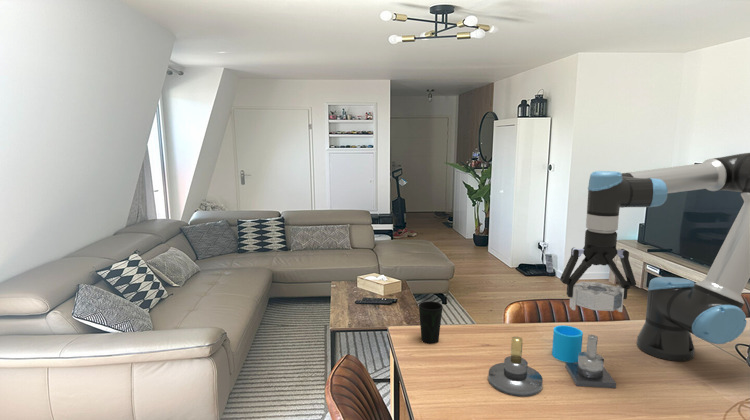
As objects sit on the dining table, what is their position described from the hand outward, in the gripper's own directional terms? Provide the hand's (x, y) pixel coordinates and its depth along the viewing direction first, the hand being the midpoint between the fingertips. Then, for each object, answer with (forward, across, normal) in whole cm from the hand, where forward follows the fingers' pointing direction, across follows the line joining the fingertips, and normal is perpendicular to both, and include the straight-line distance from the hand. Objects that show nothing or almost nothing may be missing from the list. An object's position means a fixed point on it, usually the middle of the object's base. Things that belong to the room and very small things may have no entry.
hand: (595, 309), depth 121 cm
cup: (+20, +44, -18) cm, 52 cm away
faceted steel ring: (-2, 0, 0) cm, 2 cm away
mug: (+20, +3, -14) cm, 25 cm away
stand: (+20, 0, 0) cm, 20 cm away
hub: (+20, +21, +5) cm, 29 cm away
